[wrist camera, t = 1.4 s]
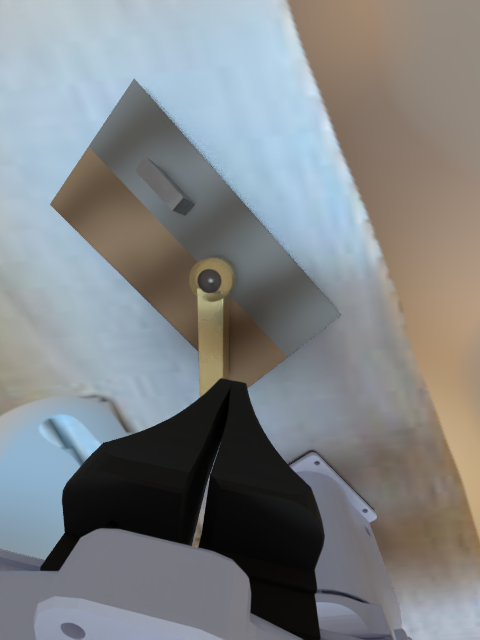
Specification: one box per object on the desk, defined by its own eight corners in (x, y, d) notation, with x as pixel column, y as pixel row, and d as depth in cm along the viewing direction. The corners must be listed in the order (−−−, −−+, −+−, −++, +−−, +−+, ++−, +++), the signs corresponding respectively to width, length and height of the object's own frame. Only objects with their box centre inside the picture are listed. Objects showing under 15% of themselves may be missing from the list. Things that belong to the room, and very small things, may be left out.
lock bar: (200, 256, 17) (186, 257, 14) (237, 257, 17) (231, 259, 14) (203, 375, 20) (191, 397, 17) (234, 378, 20) (229, 401, 17)
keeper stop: (195, 204, 17) (183, 197, 14) (185, 215, 17) (172, 210, 15) (162, 169, 16) (145, 155, 14) (153, 181, 16) (134, 170, 14)
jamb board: (337, 310, 19) (341, 314, 18) (242, 385, 21) (240, 393, 20) (143, 90, 16) (134, 78, 15) (63, 207, 19) (49, 204, 18)
